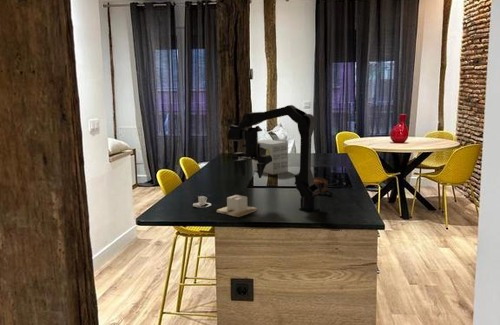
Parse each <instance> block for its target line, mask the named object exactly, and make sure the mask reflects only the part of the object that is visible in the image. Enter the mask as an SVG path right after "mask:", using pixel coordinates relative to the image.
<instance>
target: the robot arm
mask: <svg viewBox="0 0 500 325" xmlns="http://www.w3.org/2000/svg"><path fill="white" fill-rule="evenodd" d="M285 116H288V117H289V118H290V119H291V120H292V121H293V122H294V123H296V124H297V130H298V133H299V136H300V146H299V147H300V153H299V154H300V155H299V157H300V158H299V160H300V161H299V171H298V172H297V173H296V174H295V175H294V185H295V188H296V190H297V191H298V193H299V195H300V199H299V200H300V204H299V206H300V207H299V210H300V211H306V212H310V213H313V212H315V211H317V210H320V206H319V203H318V202H319V194H317V193H318V192H319V188H318V187H317V186H316V185H315V184H314V179H313V178H314V175H313V172H312V137H313V134H314V130H315V128H316V117H315V116H314V115H313V114H311V113H307V112H305V111H304V110H301V109H300V108H297V107H296V106H295V105H292V104H290V105H285V106H282V107H279V108H275V109H269V110H267V111H257V112H256V111H253V112H248V113H244V114H243V116H242V119H241V122H240V123H239V125H233V124H232V125H230V126H229V129H228V131H227V140H228V141H231V142H242V141H244V143H243V144H242V147H244V151H243V152H242V151H237V152H233V153H232V155H231V160H233V162H235V163H236V166H237V168H238V169H239V171H240V173H241V175H242V176H246V162H247V160H253V161H254V160H257V161H258V163H257V170H258V171H257V176H258V178H259V179H262V176H263V174H264V172H263V171H264V168H265V166H266V165H267V164H269V163H270V162H272V157H271V155H266V151H267V149H264V148H262V147H260V144H259V143H258V141H259V140H258V135H259V132H263V129H262V128H261V127H260V126H259V124H261V123H263V122H265V121H267V120H273V119H276V118H281V117H285ZM253 126H254V127H253Z"/></svg>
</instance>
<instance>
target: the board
mask: <svg viewBox="0 0 500 325" xmlns="http://www.w3.org/2000/svg"><path fill="white" fill-rule="evenodd" d="M256 211H258V208H257V207H254V206H248V205H247V209H244V210H241V211H233V210H228V209H227V206H224V207H221V208H218V209H216V213H219V214H223V215H228V216H232V217H236V218H240V217H243V216H245V215H246V216H247V215H248V214H251V213H255V212H256Z"/></svg>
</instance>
